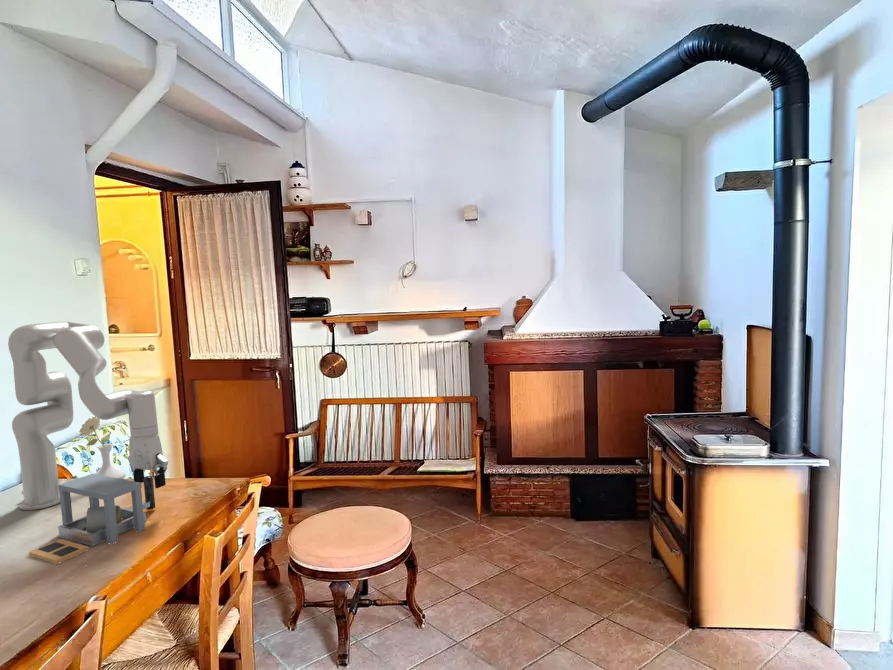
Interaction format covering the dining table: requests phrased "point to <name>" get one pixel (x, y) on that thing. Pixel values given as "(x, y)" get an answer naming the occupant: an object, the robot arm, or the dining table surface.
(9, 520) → the dining table surface
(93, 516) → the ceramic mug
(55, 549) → the board
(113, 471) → the flower in vase
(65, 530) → the grey open frame
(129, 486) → the grey side table
